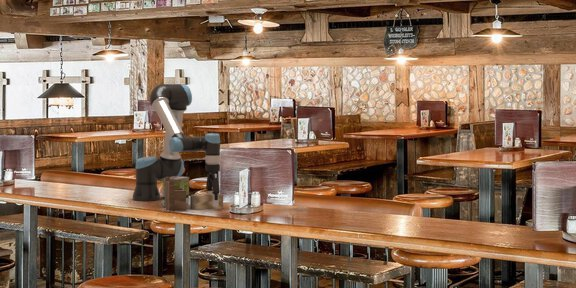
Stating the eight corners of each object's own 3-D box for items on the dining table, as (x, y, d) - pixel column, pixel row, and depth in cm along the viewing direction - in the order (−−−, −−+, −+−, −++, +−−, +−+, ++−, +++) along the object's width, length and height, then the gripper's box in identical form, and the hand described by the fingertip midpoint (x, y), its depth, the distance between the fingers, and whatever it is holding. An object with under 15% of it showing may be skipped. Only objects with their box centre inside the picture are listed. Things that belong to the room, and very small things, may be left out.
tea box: (180, 207, 458) (180, 178, 457) (161, 206, 460) (161, 178, 459) (189, 204, 473) (189, 176, 472) (171, 203, 475) (171, 175, 474)
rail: (192, 209, 450) (192, 195, 450) (190, 208, 455) (190, 194, 455) (223, 208, 455) (223, 194, 455) (220, 207, 460) (220, 193, 459)
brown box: (164, 207, 455) (164, 176, 454) (180, 207, 458) (181, 176, 457) (169, 211, 442) (169, 179, 441) (186, 210, 445) (186, 179, 444)
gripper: (200, 162, 465) (200, 202, 466) (210, 165, 442) (210, 208, 443) (214, 161, 468) (214, 202, 469) (225, 165, 444) (225, 207, 445)
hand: (212, 205), depth 456 cm, fingers open, 13 cm apart
